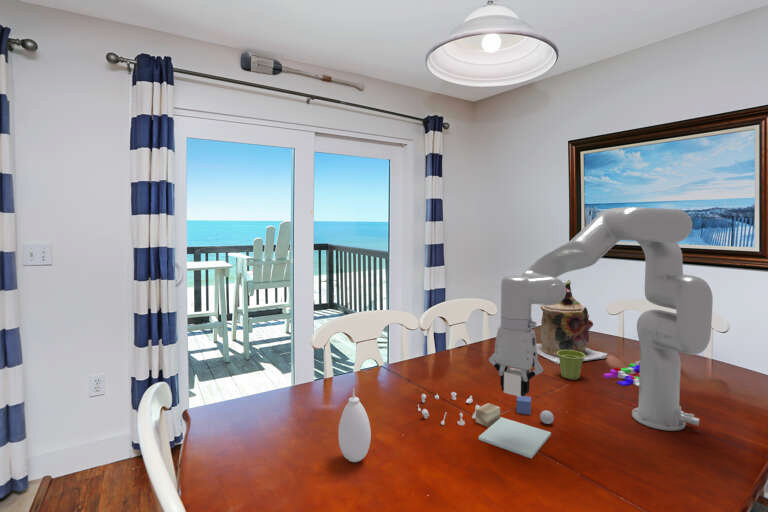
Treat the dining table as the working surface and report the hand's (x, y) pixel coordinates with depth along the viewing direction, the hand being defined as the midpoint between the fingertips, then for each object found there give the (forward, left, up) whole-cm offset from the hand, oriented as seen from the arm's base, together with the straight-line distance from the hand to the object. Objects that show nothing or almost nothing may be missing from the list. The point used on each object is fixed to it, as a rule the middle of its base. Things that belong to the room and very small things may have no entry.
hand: (514, 391), depth 107 cm
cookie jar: (+11, -81, -13) cm, 83 cm away
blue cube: (+4, -17, -13) cm, 21 cm away
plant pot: (+1, -54, -13) cm, 56 cm away
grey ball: (-4, -13, -11) cm, 18 cm away
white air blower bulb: (+26, +34, -13) cm, 44 cm away
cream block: (0, -1, 0) cm, 1 cm away
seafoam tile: (0, 0, -13) cm, 13 cm away
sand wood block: (+9, -4, -13) cm, 16 cm away
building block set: (-20, -68, -13) cm, 72 cm away
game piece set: (+22, -3, -13) cm, 26 cm away
